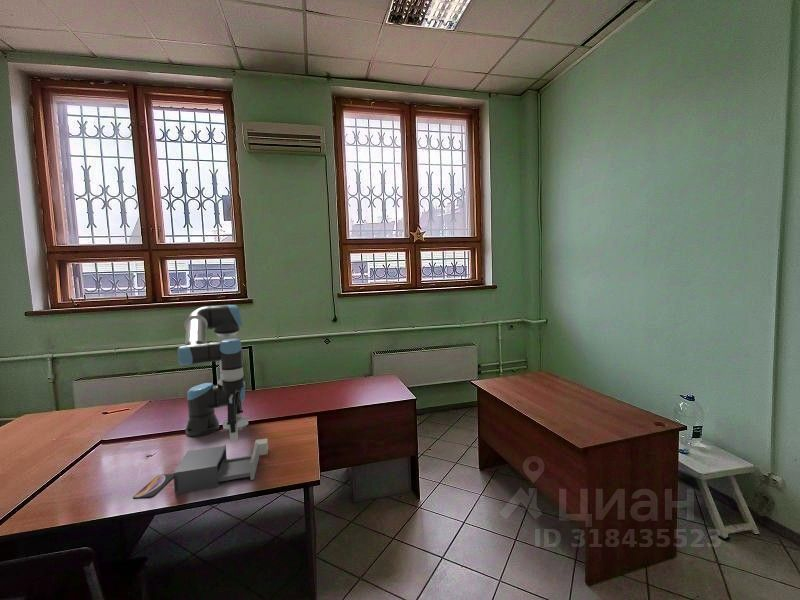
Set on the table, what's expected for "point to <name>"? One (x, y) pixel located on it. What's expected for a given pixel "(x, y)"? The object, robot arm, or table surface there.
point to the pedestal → (262, 446)
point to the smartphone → (154, 486)
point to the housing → (199, 469)
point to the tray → (239, 467)
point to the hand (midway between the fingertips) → (236, 434)
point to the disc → (241, 423)
